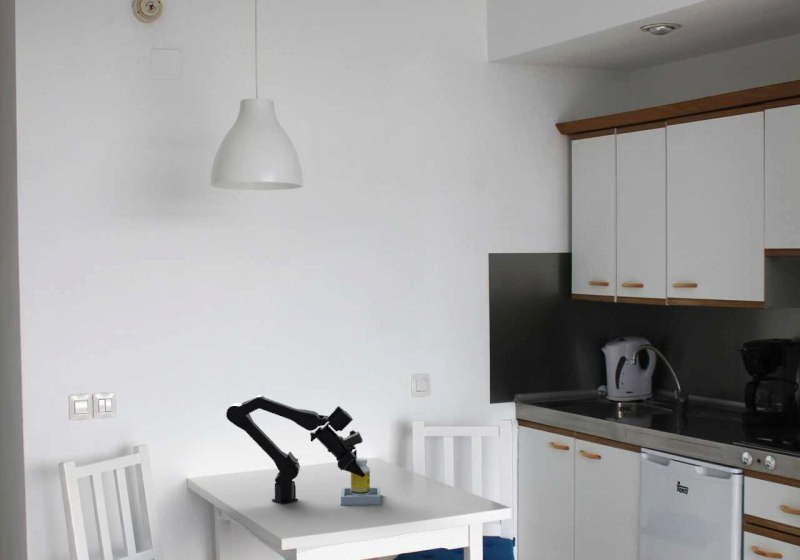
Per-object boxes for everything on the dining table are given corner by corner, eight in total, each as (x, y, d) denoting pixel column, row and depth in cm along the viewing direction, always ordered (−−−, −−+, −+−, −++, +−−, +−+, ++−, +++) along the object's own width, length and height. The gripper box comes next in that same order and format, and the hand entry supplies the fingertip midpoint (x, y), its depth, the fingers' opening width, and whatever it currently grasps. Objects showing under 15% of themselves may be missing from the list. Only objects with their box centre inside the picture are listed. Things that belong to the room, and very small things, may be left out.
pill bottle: (367, 496, 304) (367, 462, 304) (348, 495, 306) (348, 461, 305) (371, 491, 311) (371, 457, 310) (353, 490, 312) (353, 456, 312)
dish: (380, 504, 302) (380, 496, 302) (341, 504, 301) (340, 497, 301) (380, 494, 315) (379, 487, 315) (342, 495, 314) (342, 487, 314)
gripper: (348, 428, 298) (381, 462, 299) (349, 419, 317) (380, 451, 317) (323, 453, 298) (357, 486, 299) (326, 442, 317) (358, 474, 317)
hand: (364, 473), depth 308 cm, fingers closed on pill bottle, 6 cm apart
